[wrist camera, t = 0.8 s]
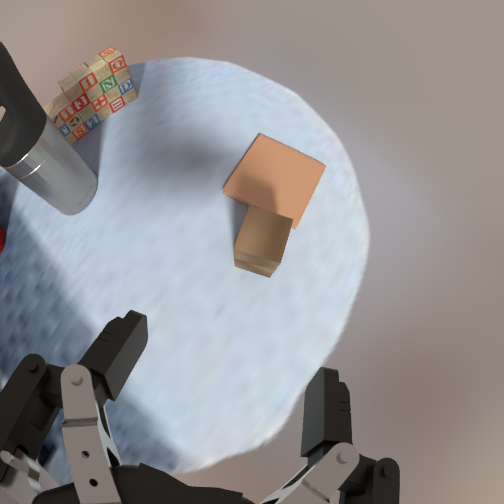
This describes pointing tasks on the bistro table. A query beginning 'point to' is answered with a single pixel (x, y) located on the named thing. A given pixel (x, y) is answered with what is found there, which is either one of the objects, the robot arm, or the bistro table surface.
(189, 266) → the bistro table surface
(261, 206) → the terracotta tile
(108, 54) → the stack of blocks
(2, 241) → the plastic cup
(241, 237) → the walnut block
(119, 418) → the bistro table surface
